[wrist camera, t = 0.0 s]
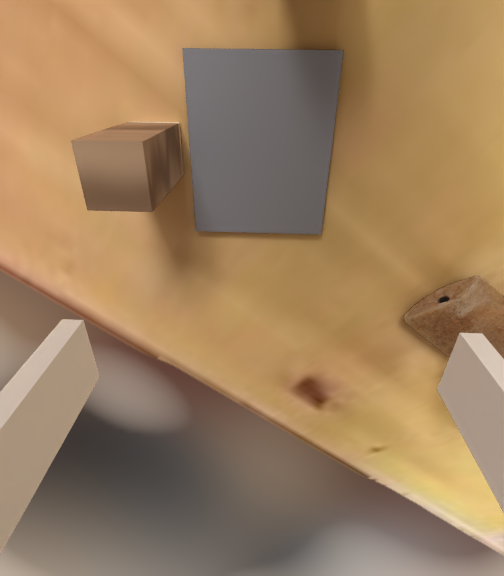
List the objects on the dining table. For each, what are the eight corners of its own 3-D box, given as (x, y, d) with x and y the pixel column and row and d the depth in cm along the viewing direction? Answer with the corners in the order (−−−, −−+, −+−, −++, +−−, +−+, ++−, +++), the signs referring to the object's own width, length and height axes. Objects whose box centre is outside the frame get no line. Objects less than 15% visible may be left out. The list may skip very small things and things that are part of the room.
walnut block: (129, 121, 35) (71, 140, 24) (179, 122, 35) (142, 141, 24) (137, 173, 37) (87, 210, 27) (184, 174, 37) (151, 211, 27)
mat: (184, 48, 31) (182, 48, 31) (342, 50, 31) (343, 50, 30) (197, 228, 40) (196, 231, 40) (320, 231, 40) (321, 234, 39)
